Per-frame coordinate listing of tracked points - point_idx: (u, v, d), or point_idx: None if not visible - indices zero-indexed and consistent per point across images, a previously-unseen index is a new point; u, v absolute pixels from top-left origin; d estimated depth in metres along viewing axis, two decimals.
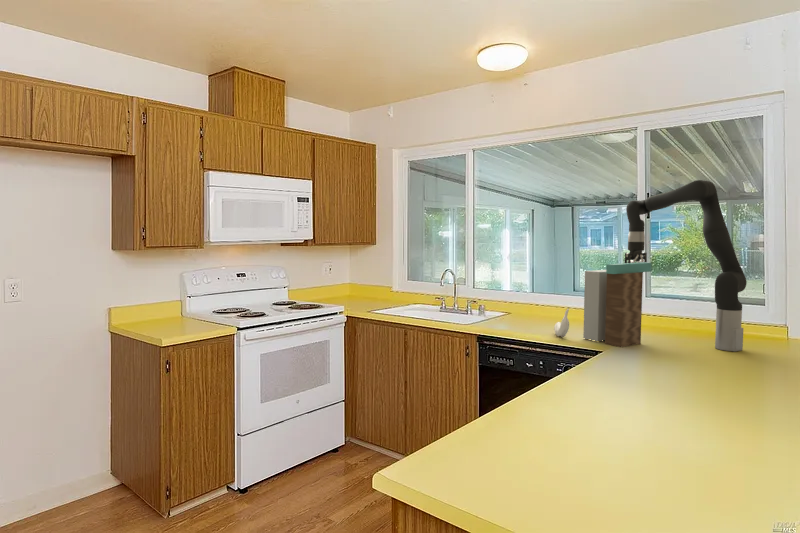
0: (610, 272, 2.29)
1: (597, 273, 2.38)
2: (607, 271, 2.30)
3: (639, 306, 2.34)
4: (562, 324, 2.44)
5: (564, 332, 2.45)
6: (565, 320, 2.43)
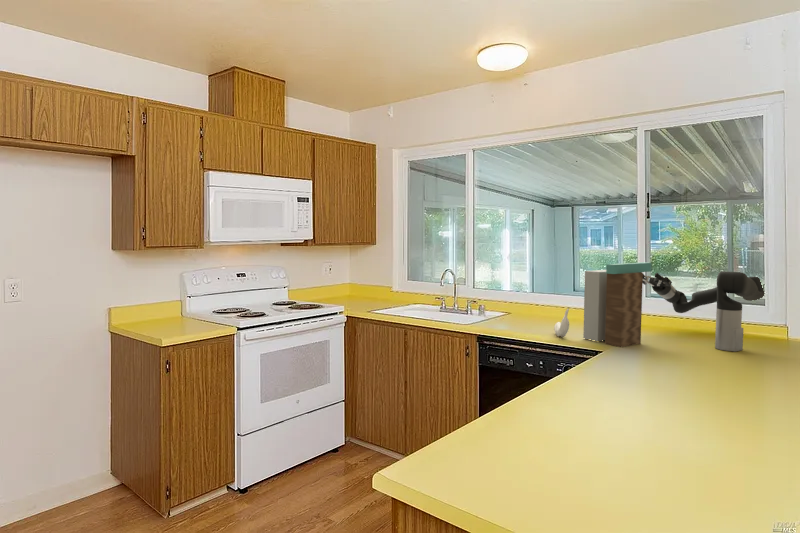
0: (610, 272, 2.29)
1: (597, 273, 2.38)
2: (607, 271, 2.30)
3: (639, 306, 2.34)
4: (562, 324, 2.44)
5: (564, 332, 2.45)
6: (565, 320, 2.43)
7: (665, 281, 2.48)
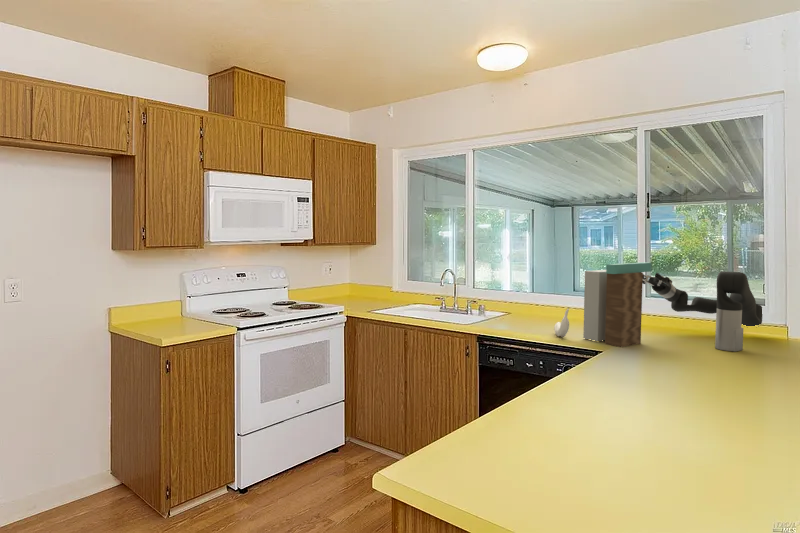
0: (610, 272, 2.29)
1: (597, 273, 2.38)
2: (607, 271, 2.30)
3: (639, 306, 2.34)
4: (562, 324, 2.44)
5: (564, 332, 2.45)
6: (565, 320, 2.43)
7: (666, 281, 2.38)
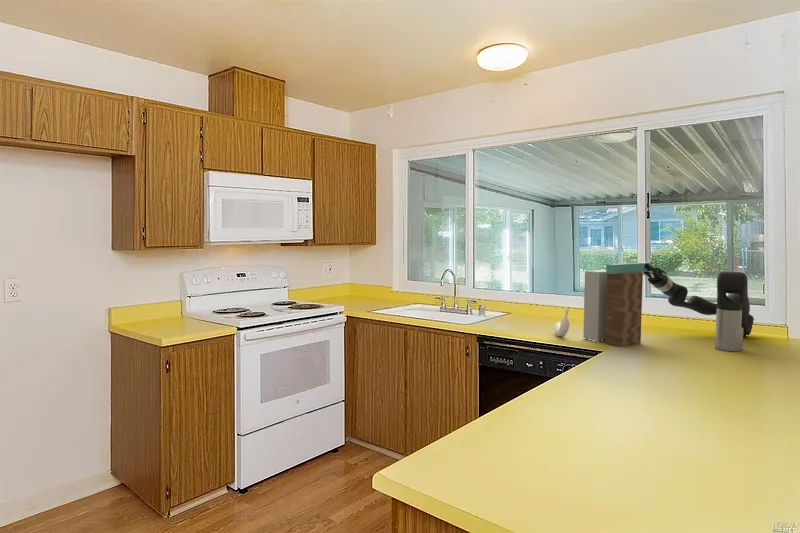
0: (610, 272, 2.29)
1: (597, 273, 2.38)
2: (607, 271, 2.30)
3: (639, 306, 2.34)
4: (562, 324, 2.44)
5: (564, 332, 2.45)
6: (565, 320, 2.43)
7: (655, 271, 2.37)
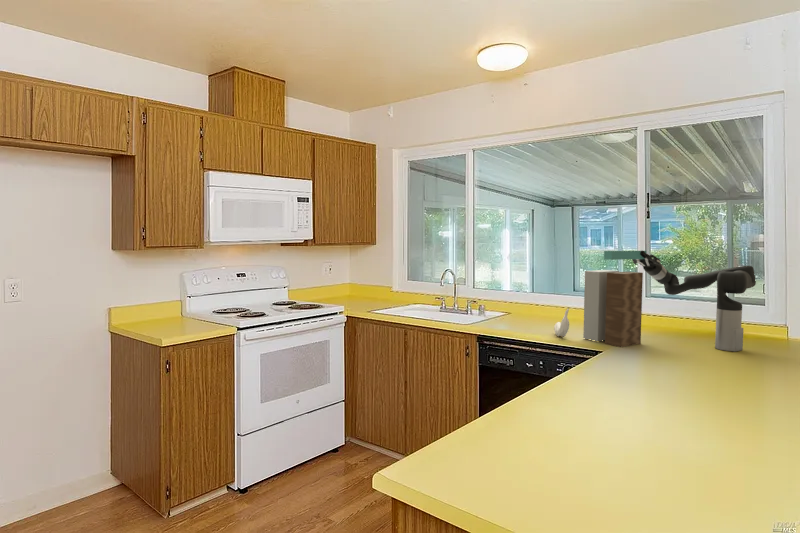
0: (608, 258, 2.41)
1: (597, 273, 2.38)
2: (605, 257, 2.43)
3: (639, 306, 2.34)
4: (562, 324, 2.44)
5: (564, 332, 2.45)
6: (565, 320, 2.43)
7: (650, 258, 2.50)
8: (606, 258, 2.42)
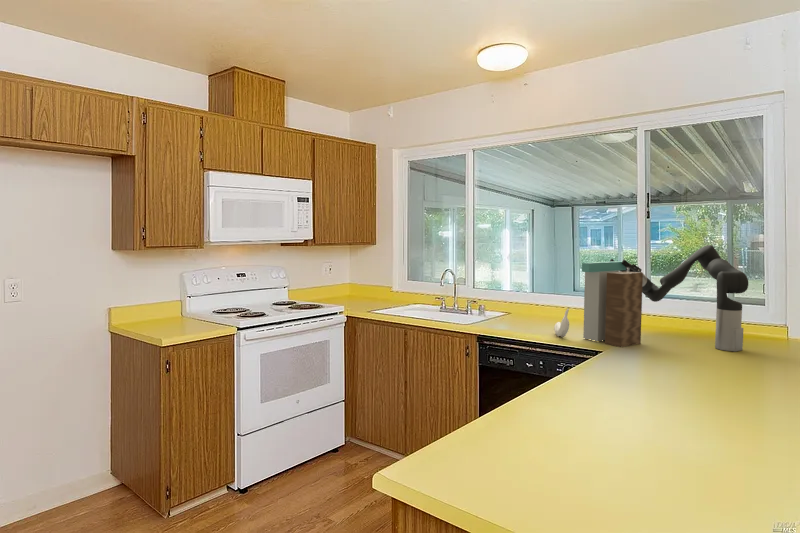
0: (585, 270, 2.38)
1: (597, 273, 2.38)
2: (582, 269, 2.39)
3: (639, 306, 2.34)
4: (562, 324, 2.44)
5: (564, 332, 2.45)
6: (565, 320, 2.43)
7: (632, 268, 2.46)
8: (584, 270, 2.39)
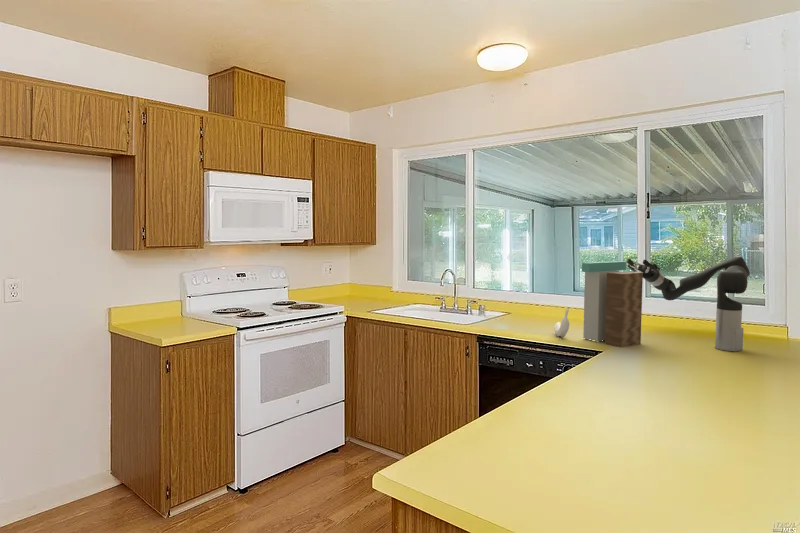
0: (585, 270, 2.38)
1: (597, 273, 2.38)
2: (582, 269, 2.39)
3: (639, 306, 2.34)
4: (562, 324, 2.44)
5: (564, 332, 2.45)
6: (565, 320, 2.43)
7: (653, 268, 2.52)
8: (584, 270, 2.39)
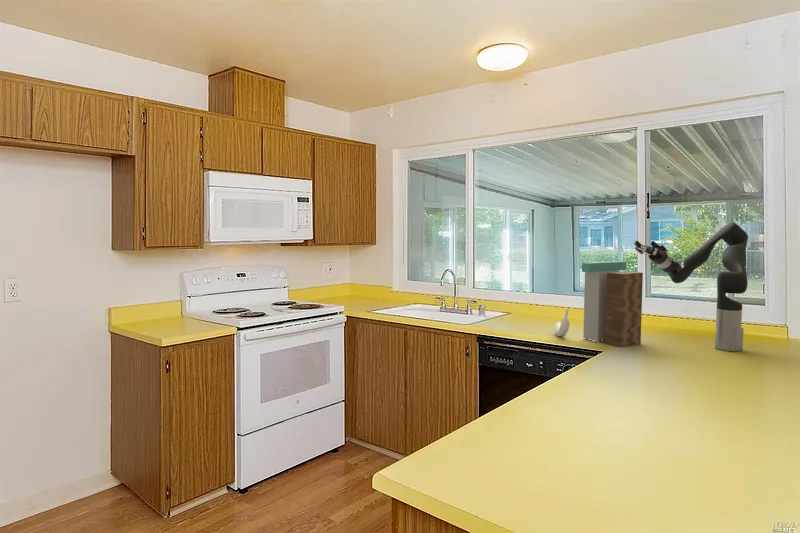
0: (585, 270, 2.38)
1: (597, 273, 2.38)
2: (582, 269, 2.39)
3: (639, 306, 2.34)
4: (562, 324, 2.44)
5: (564, 332, 2.45)
6: (565, 320, 2.43)
7: (661, 249, 2.52)
8: (584, 270, 2.39)
